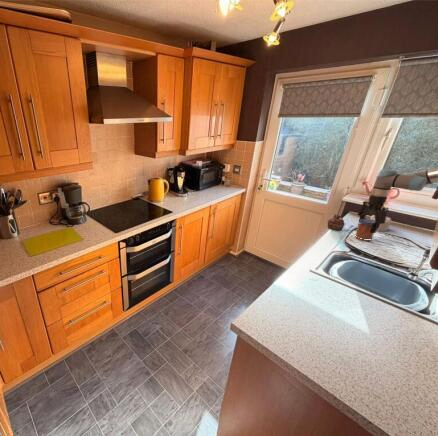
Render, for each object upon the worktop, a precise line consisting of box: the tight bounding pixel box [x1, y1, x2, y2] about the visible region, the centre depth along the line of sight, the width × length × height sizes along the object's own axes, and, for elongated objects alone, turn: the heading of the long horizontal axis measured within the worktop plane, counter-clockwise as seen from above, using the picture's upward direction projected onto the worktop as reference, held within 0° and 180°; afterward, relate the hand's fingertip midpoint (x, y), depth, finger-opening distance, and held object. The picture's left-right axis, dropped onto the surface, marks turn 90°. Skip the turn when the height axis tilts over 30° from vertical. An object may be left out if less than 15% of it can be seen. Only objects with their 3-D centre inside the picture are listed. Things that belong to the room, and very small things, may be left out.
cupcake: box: [327, 214, 346, 232], centre depth 162 cm, size 10×10×10 cm
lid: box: [360, 218, 375, 226], centre depth 145 cm, size 8×8×2 cm
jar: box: [354, 222, 375, 242], centre depth 147 cm, size 8×8×12 cm
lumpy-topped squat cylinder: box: [369, 214, 392, 232], centre depth 162 cm, size 10×13×9 cm
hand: (366, 229), depth 147 cm, fingers closed on lid, 8 cm apart
